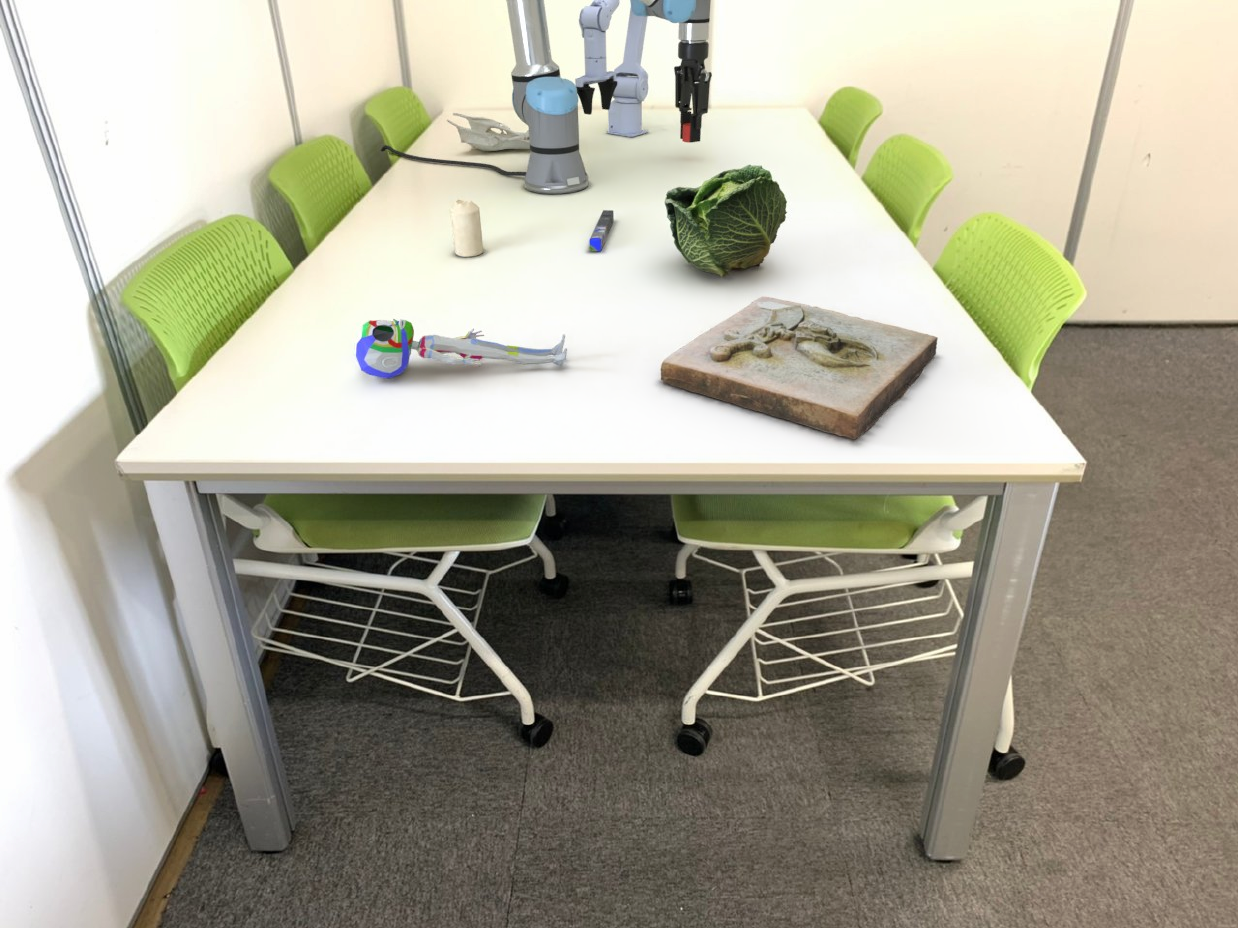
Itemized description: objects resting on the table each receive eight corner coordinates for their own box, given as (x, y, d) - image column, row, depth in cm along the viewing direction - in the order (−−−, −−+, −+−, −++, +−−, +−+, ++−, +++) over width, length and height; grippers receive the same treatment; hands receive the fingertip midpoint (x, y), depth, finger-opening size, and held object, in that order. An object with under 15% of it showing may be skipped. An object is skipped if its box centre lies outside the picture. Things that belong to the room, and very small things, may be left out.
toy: (569, 347, 126) (349, 329, 122) (563, 400, 131) (350, 385, 126) (565, 318, 135) (359, 301, 130) (559, 369, 139) (360, 354, 134)
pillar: (613, 210, 190) (600, 241, 173) (613, 220, 191) (600, 251, 174) (603, 210, 190) (589, 240, 173) (603, 220, 191) (589, 251, 174)
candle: (488, 249, 176) (483, 198, 171) (475, 258, 172) (470, 206, 167) (463, 246, 178) (457, 196, 173) (450, 255, 174) (443, 204, 168)
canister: (679, 141, 233) (679, 124, 231) (688, 138, 235) (689, 122, 233) (690, 143, 231) (691, 126, 228) (700, 141, 233) (700, 124, 231)
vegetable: (694, 294, 173) (643, 202, 166) (775, 239, 175) (728, 145, 167) (734, 307, 155) (678, 205, 147) (824, 245, 156) (773, 141, 149)
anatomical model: (457, 110, 251) (543, 108, 247) (461, 144, 256) (546, 143, 252) (440, 121, 238) (531, 120, 235) (445, 157, 243) (534, 156, 240)
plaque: (865, 393, 108) (658, 335, 123) (857, 444, 112) (657, 381, 127) (948, 314, 129) (763, 273, 144) (939, 359, 133) (759, 314, 148)
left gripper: (726, 44, 216) (721, 144, 228) (687, 36, 228) (684, 132, 241) (700, 46, 213) (696, 148, 225) (662, 38, 225) (660, 135, 237)
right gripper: (589, 62, 229) (590, 118, 236) (624, 55, 238) (625, 109, 245) (568, 59, 232) (570, 115, 240) (604, 53, 242) (605, 106, 249)
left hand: (690, 139), depth 233 cm, fingers closed on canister, 4 cm apart
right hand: (596, 111), depth 243 cm, fingers open, 7 cm apart
